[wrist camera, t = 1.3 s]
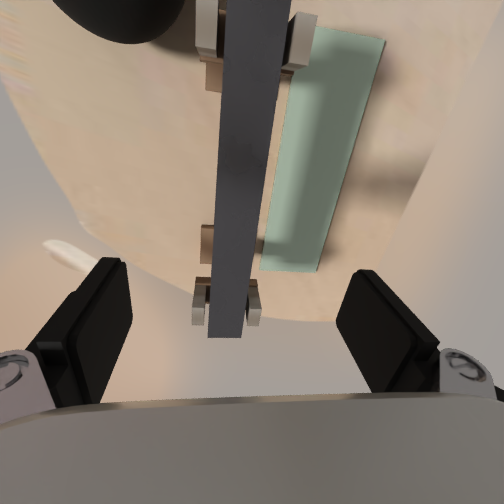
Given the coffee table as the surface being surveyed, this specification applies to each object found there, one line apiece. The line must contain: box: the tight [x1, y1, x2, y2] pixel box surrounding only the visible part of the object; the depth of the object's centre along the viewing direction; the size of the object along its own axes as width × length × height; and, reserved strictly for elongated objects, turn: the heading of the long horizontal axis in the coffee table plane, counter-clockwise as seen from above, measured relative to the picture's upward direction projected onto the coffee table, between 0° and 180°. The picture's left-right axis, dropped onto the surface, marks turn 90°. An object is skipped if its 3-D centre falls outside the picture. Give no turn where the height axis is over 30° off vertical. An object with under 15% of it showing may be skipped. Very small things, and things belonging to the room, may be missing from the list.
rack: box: [192, 0, 318, 326], centre depth 23 cm, size 24×6×13 cm, turn 173°
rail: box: [208, 0, 291, 338], centre depth 19 cm, size 24×3×3 cm, turn 173°
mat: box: [259, 26, 385, 273], centre depth 30 cm, size 26×8×1 cm, turn 173°
